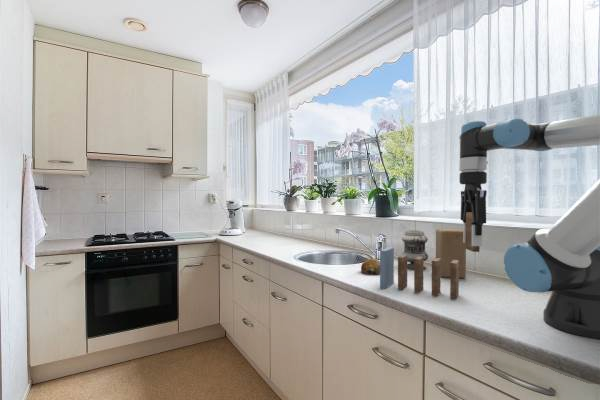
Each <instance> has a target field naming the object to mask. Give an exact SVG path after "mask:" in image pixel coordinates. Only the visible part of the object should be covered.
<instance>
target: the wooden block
mask: <svg viewBox="0 0 600 400" xmlns="http://www.w3.org/2000/svg"><path fill="white" fill-rule="evenodd" d="M465 247H466V243H463V229H459V228H436V230H435V258H440V259H441V277H442V278H449V279H450V263H451V262H452V260H459V279H465V278H466V276H467V272H466V271H467V249H465Z"/></svg>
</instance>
